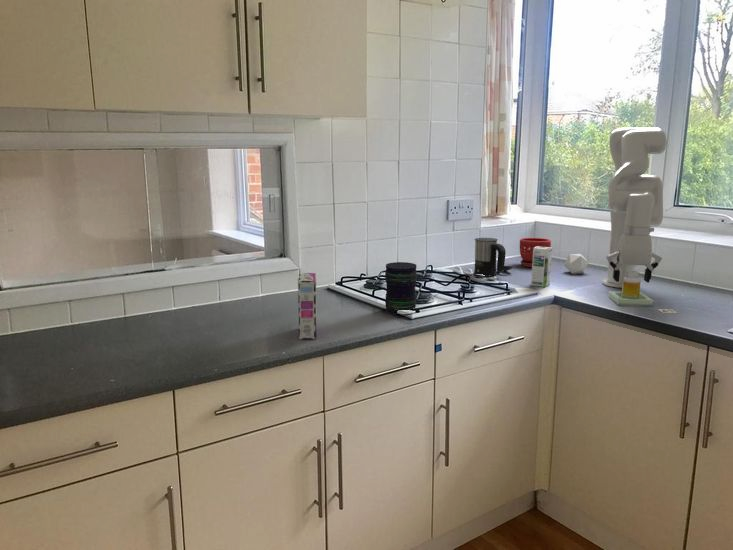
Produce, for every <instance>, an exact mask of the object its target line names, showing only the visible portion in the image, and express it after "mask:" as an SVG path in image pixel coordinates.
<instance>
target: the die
mask: <svg viewBox="0 0 733 550" xmlns="http://www.w3.org/2000/svg"><path fill="white" fill-rule="evenodd" d="M588 265H589V261H588V260H587V259H586V258H585V257H584V256H583V255H582V254H581V253H575V254H573V253H572V254H569V255H568V256H567V258H566V261H565V263H564V267H565V268H566V269H567V270H568V271H569V272H570V273H571V274H572V275H576V274H577V275H578V274H584V273H585V271H586V269H587V266H588Z"/></svg>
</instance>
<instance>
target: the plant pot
mask: <svg viewBox="0 0 733 550" xmlns="http://www.w3.org/2000/svg"><path fill="white" fill-rule="evenodd" d="M536 246H540V247H551V246H552V240H551V239H549V238H544V237H543V238H541V237H524V238H520V239H519V254H520V257H521V260H520V264H521V265H522V266H524V267H526V268H532V263H533V248H534V247H536Z"/></svg>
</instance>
